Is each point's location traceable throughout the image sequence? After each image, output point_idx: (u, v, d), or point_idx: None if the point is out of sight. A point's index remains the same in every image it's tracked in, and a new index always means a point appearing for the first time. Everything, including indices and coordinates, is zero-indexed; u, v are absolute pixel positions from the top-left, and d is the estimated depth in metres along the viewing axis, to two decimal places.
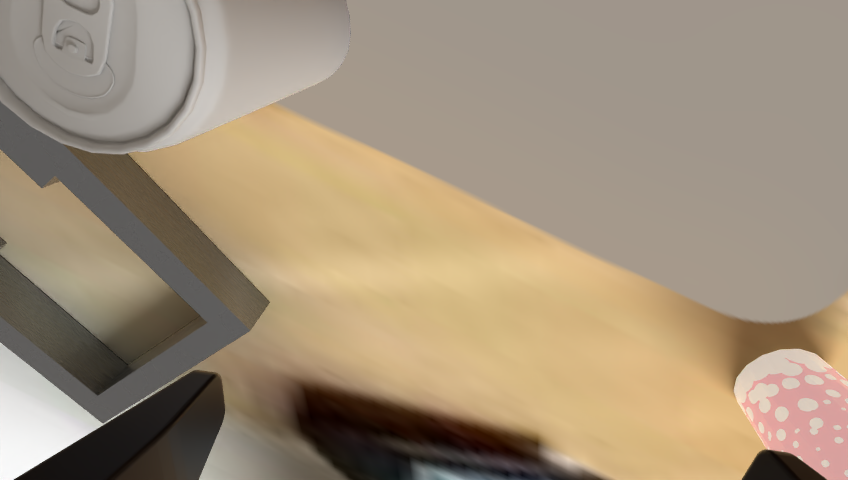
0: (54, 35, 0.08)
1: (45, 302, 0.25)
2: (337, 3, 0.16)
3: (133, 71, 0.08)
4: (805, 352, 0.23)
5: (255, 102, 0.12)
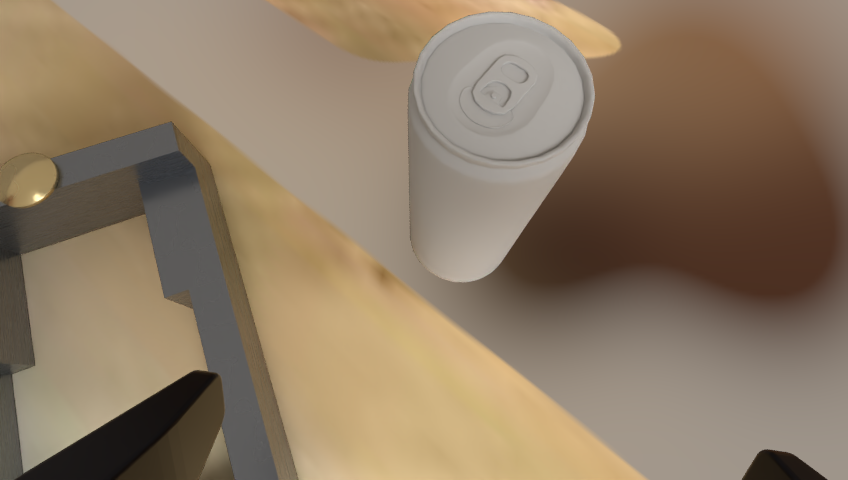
0: (484, 87, 0.12)
1: (13, 455, 0.19)
2: None
3: (530, 117, 0.11)
4: None
5: (525, 211, 0.14)
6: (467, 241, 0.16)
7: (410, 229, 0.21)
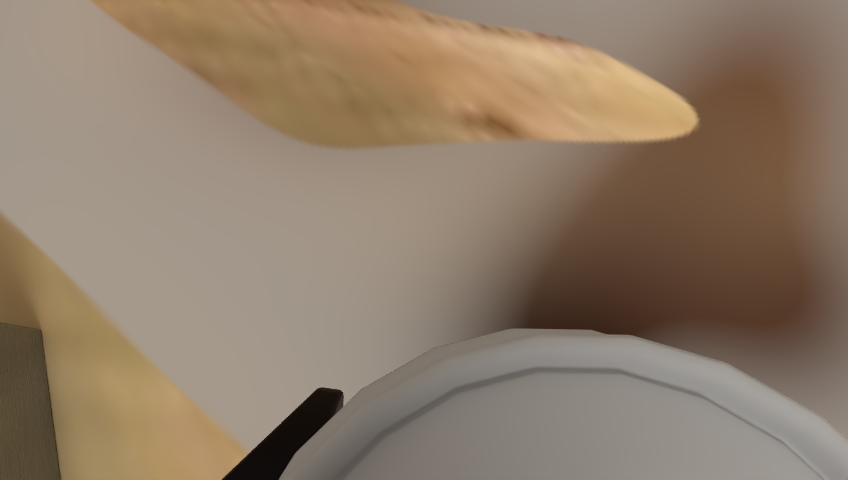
0: None
1: None
2: None
3: None
4: None
5: None
6: None
7: None
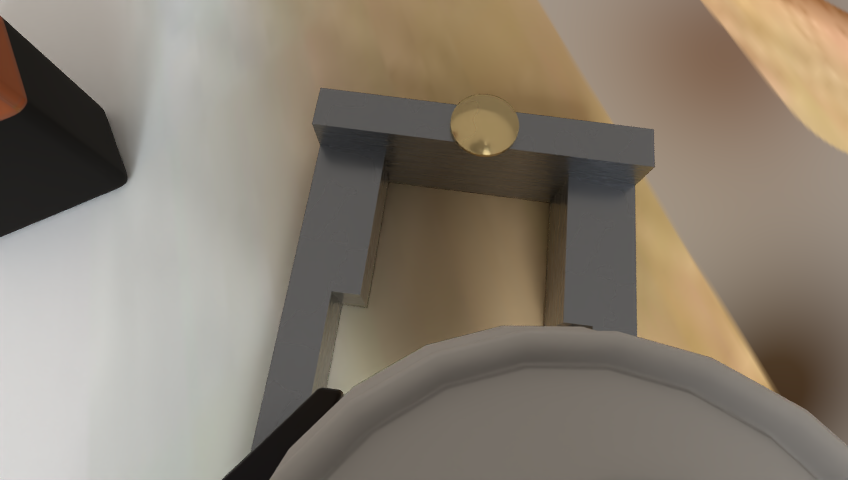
0: None
1: None
2: None
3: None
4: None
5: None
6: None
7: None
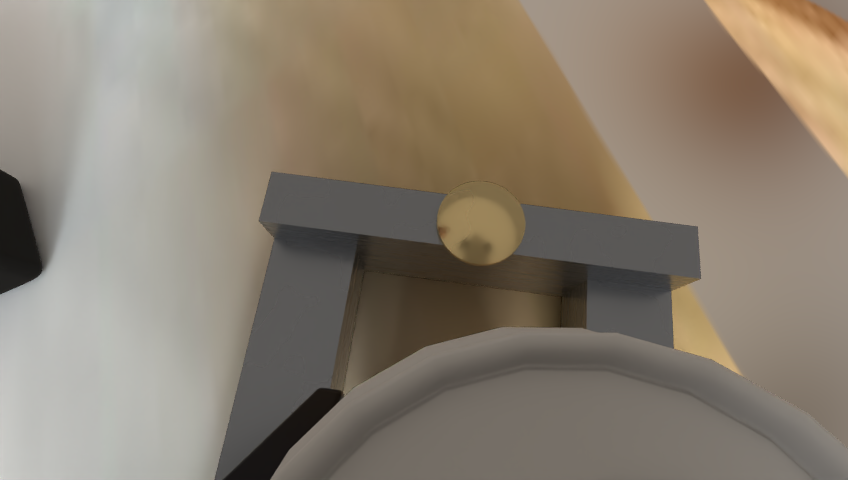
0: None
1: None
2: None
3: None
4: None
5: None
6: None
7: None
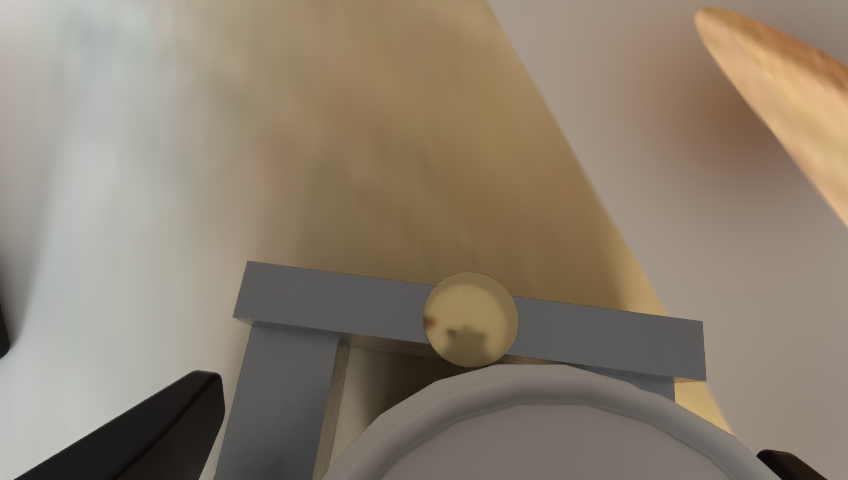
0: None
1: None
2: None
3: None
4: None
5: None
6: None
7: None
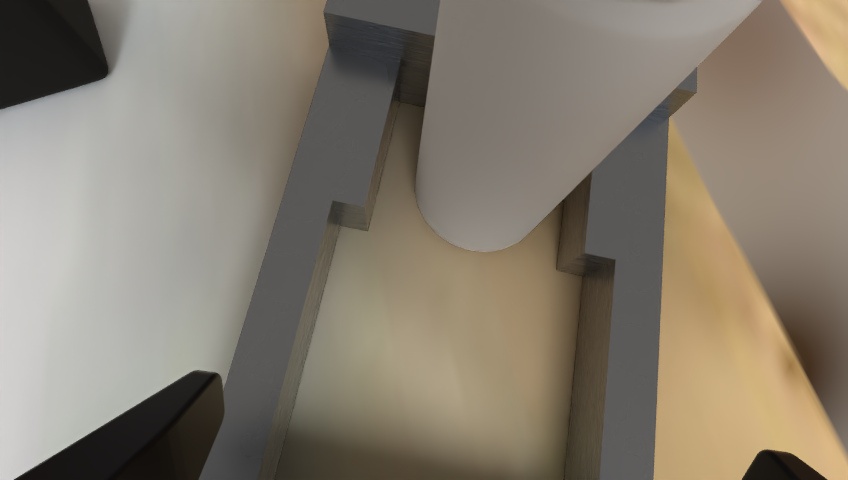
0: None
1: (313, 319, 0.15)
2: None
3: None
4: None
5: (625, 127, 0.08)
6: (514, 179, 0.10)
7: (417, 174, 0.15)
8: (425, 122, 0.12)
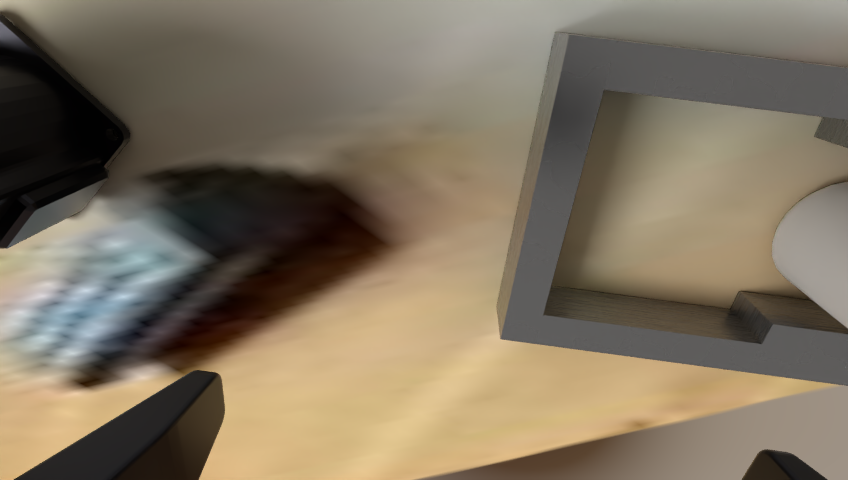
0: None
1: None
2: None
3: None
4: None
5: None
6: None
7: None
8: None
